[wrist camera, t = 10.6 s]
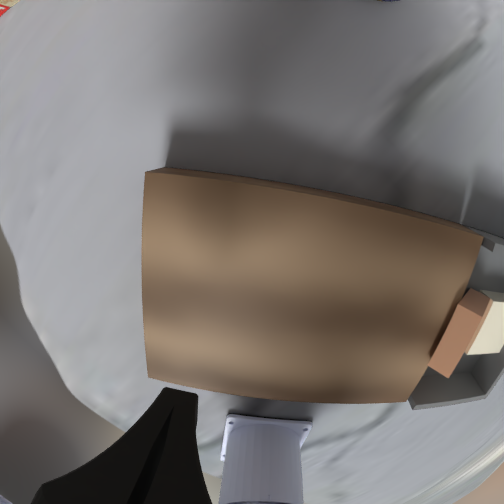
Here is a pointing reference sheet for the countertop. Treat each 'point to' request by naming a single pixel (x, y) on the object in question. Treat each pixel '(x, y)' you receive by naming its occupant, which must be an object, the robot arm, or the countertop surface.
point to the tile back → (489, 327)
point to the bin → (469, 366)
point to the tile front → (459, 332)
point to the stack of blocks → (6, 5)
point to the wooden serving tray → (294, 288)
